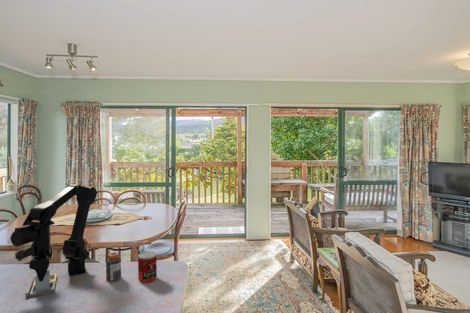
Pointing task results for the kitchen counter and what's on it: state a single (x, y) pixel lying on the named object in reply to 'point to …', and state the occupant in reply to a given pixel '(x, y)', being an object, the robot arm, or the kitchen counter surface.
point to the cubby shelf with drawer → (32, 287)
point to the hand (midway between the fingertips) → (42, 276)
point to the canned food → (147, 267)
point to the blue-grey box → (42, 282)
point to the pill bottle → (113, 267)
